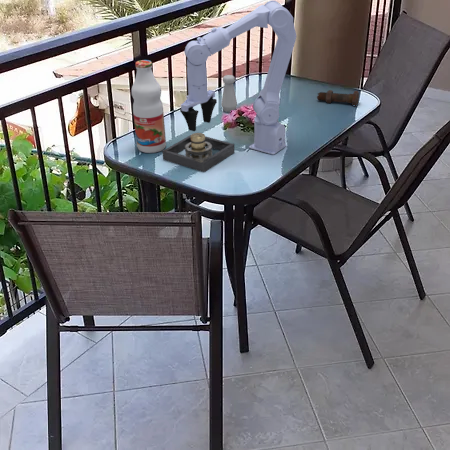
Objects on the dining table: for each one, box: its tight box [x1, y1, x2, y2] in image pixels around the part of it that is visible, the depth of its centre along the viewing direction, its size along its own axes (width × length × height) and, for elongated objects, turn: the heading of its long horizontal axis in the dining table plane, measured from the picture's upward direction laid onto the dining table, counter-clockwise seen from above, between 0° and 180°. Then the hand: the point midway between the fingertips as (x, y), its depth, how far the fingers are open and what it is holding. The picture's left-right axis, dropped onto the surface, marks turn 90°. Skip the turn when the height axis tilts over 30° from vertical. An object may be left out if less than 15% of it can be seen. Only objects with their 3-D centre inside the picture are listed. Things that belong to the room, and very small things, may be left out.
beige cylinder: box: [190, 132, 207, 157], centre depth 184 cm, size 5×5×7 cm
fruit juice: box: [131, 59, 167, 154], centre depth 184 cm, size 9×9×28 cm
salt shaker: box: [221, 74, 238, 113], centre depth 214 cm, size 6×6×13 cm
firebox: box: [161, 134, 235, 173], centre depth 185 cm, size 16×16×3 cm
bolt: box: [316, 89, 360, 107], centre depth 221 cm, size 6×5×15 cm
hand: (199, 126), depth 182 cm, fingers open, 7 cm apart
